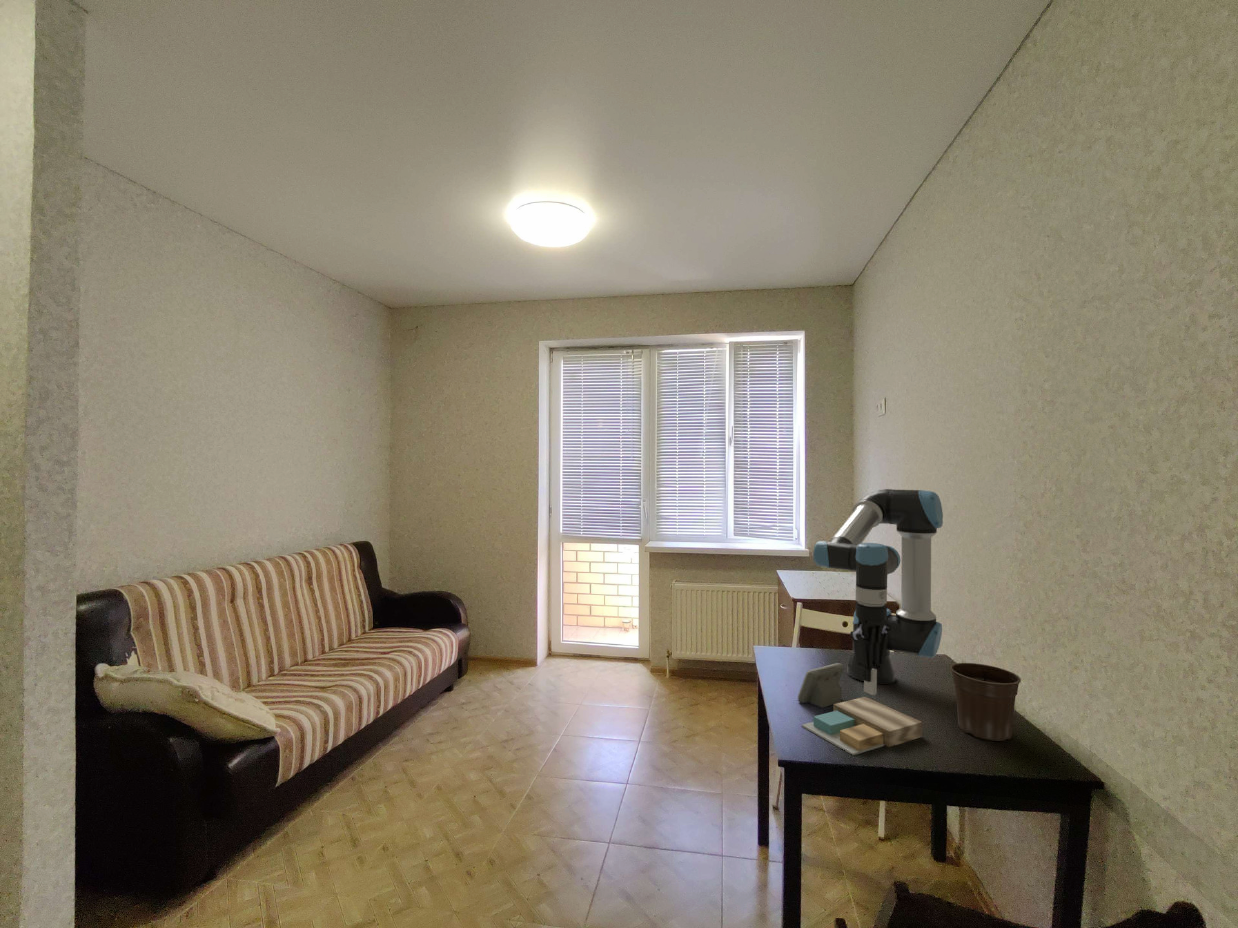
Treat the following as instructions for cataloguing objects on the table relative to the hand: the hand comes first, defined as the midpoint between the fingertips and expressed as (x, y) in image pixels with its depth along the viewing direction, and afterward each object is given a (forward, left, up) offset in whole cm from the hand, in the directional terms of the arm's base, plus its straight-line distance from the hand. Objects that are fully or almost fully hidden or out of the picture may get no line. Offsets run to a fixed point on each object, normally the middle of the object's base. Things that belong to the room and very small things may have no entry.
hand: (870, 692), depth 147 cm
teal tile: (+3, -9, -12) cm, 15 cm away
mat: (+5, -5, -13) cm, 14 cm away
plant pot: (-34, +10, -13) cm, 37 cm away
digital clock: (-8, -24, -13) cm, 29 cm away
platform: (-8, -4, -13) cm, 15 cm away
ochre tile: (+3, 0, -12) cm, 12 cm away
